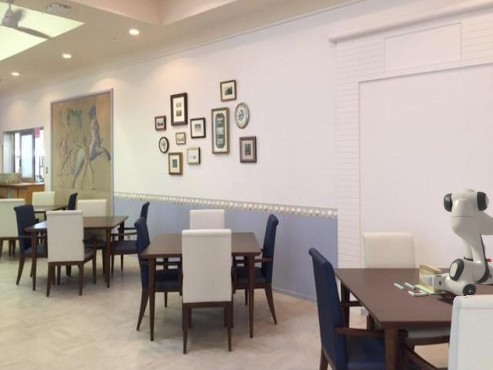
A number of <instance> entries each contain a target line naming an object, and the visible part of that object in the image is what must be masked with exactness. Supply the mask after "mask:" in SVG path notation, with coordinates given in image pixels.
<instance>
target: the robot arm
mask: <svg viewBox="0 0 493 370" xmlns="http://www.w3.org/2000/svg"><path fill="white" fill-rule="evenodd" d="M489 203H490V200H489V197H488V196H487V194H486V193H485V192H484V191H475V189H472V188H464V189H462V190H460V191H459V192H454V193H453V192H451V193H447V194H445V195H444V197H443V200H442V205H443V208H444V210H445V211H446V212H449V213H451V214H450V227H451V230H452V232H453V233H454V234H455V235H456V236H458V237H460V239H461V240H462V242H463V248H464V249H463V250H464V251H463V252H464V253H463V254H464V255H463V258H456V259H454V260H453V261H452V262H451V264H450V266H449V269H448V271H449V272H446V273H443V272H442V274H437V275H428V274H424V275H423V276H422V282H423V283H425V284H427V285H429V286H432V287H433V288H434V289H442V291H445V292H446V291H447V292H450V293H453V294H454V295H457V296H459V297H461V296H466V295H473V296H475V294H476V293H477V286H476V285H475V284H480V285H485V286H486V285H492V284H493V266H491V265H490V264H489V263H492V261H493V260H492V259H491V258H487V255H486V245H485V244H484V241H483V237H482V236H493V216H491V215H489V214H487V213H486V212H485V211H486V210H487V208H488V206H489Z"/></svg>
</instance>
